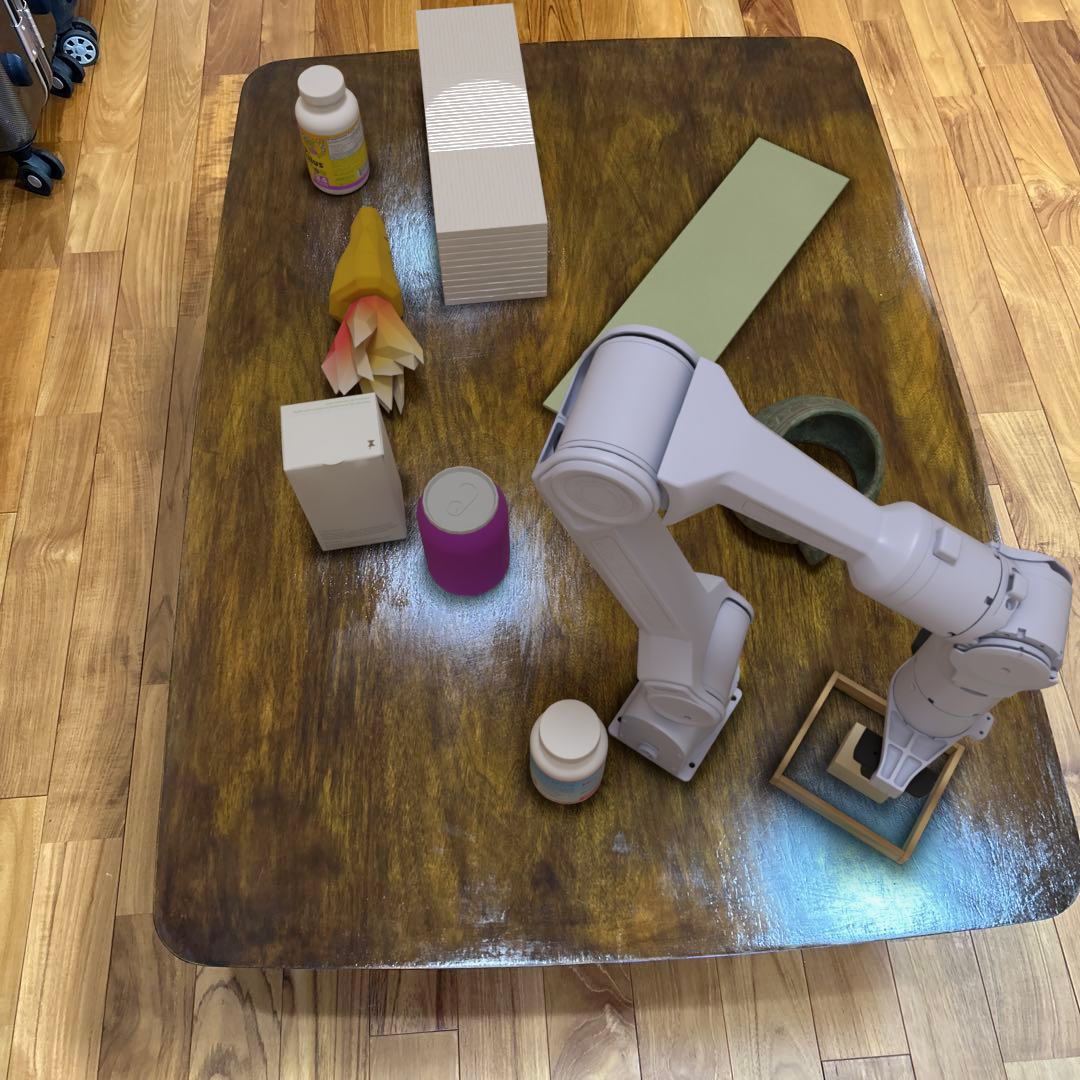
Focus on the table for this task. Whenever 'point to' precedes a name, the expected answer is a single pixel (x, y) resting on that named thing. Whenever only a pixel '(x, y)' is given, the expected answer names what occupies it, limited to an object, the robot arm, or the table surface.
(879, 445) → the dark green rounded piece
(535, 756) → the pill bottle
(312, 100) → the supplement bottle
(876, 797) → the block
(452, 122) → the stack of papers
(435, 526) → the beverage can
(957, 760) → the wooden frame
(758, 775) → the table surface
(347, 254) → the torch
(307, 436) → the cosmetic box
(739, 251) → the runner
